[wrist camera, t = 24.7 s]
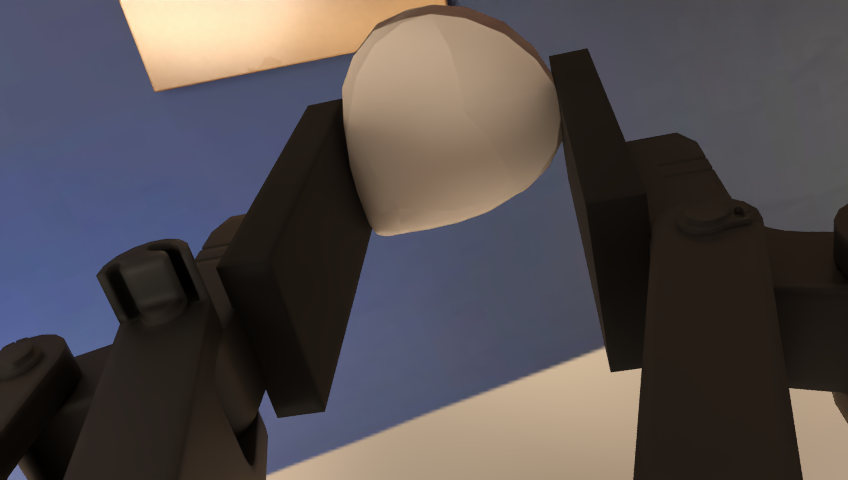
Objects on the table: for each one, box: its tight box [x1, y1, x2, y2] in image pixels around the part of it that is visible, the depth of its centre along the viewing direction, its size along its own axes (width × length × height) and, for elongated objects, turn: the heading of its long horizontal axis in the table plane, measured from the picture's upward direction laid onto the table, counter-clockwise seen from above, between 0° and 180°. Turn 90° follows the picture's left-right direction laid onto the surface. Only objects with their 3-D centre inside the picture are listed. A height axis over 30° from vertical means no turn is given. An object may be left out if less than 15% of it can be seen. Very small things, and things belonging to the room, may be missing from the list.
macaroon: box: [342, 4, 563, 236], centre depth 16 cm, size 4×5×2 cm
